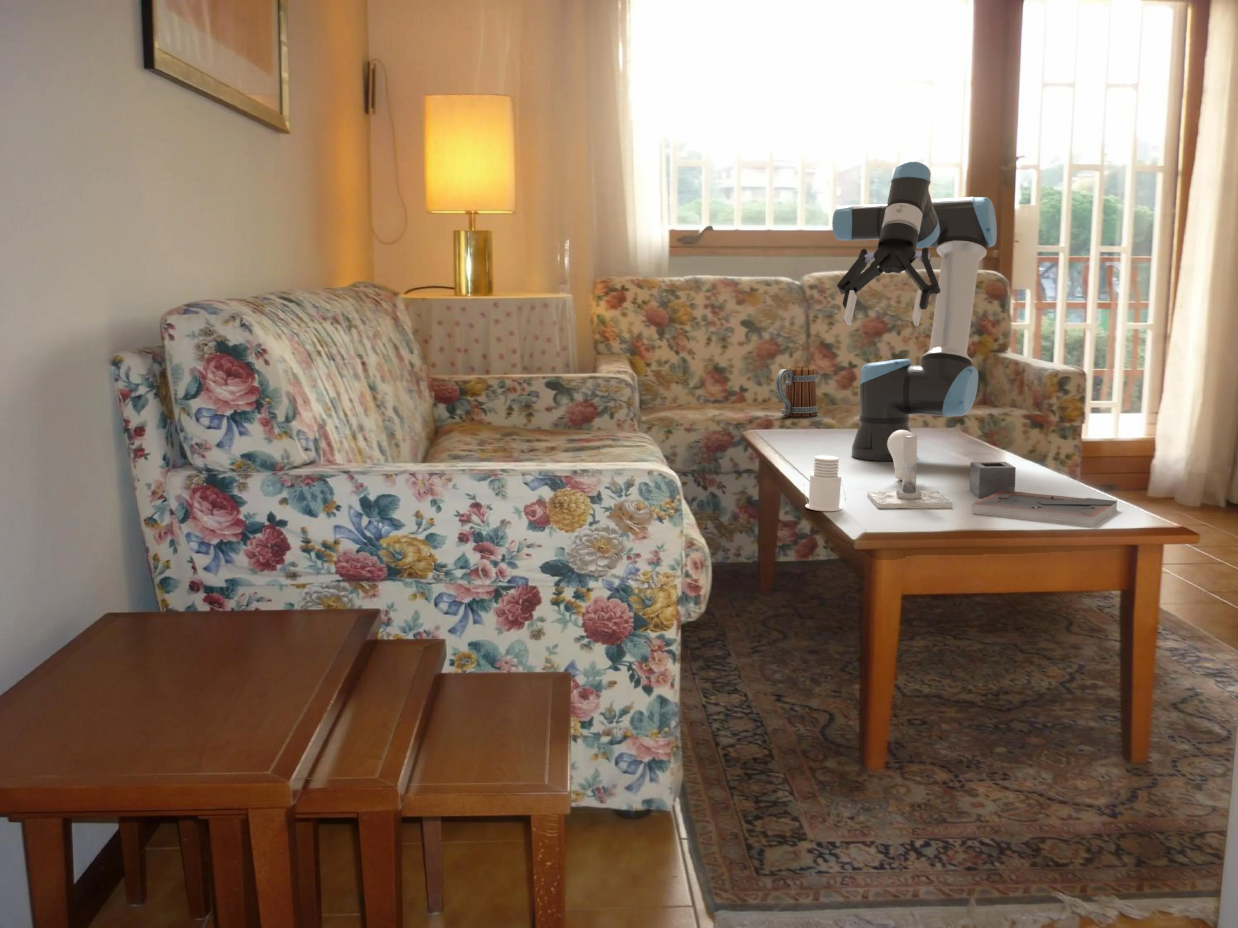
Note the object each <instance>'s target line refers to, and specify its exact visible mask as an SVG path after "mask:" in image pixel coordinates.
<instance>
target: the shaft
mask: <svg viewBox="0 0 1238 928" xmlns="http://www.w3.org/2000/svg"><path fill="white" fill-rule="evenodd" d="M913 435H914V434H913ZM913 435H906V436H903V474H902V481H901V483H902V484H901V485H902V486H901V489H899V490H895V491H894V490H893V491H891V490H890V491H886V490H885V491H883V490H882V491H881V490H880V491H878V490H877V491H876V490H875V491H867V492H866V493H867V498H868V499H869V500H870V501H871V503H872V504H875V505H874V506H875V507H876V508H877V509H878V508H906V509H953V502H952V501H951V500H949V499H948V498H947V497H946V496H945V495H944V494H942V493H941V492H940V491H939V490H917V465H918V463H917V462H918V461H917V458H918V457H917V456H918V454H917V453H918V436H917V435H914V436H913Z"/></svg>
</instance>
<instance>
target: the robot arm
mask: <svg viewBox="0 0 1238 928" xmlns="http://www.w3.org/2000/svg"><path fill="white" fill-rule="evenodd" d="M931 174H932V172H931V170H930V169H929V167H928V166H927V165H926V164H924V163H922V162H919V161H916V160H913V161H904V162H902V163H901V162H900V164H898V165H897V166H896V167H895V169H894V172H893V175H892V178H891V180H890V183H891V184H890V188H889V192H888V198H887V202H886V203H885V204H884V203H882V204H857V205H853V204H848V205H842V206H838V207H836V208H835V210H834V212H833V214H832V232H833V235H834V238H835V239H836V240H837V241H844V242H845V241H848V242H852V241H853V242H855V241H878V244H877V247H876V249H875V251H874V252H873V251H868V250H867V249H866V248H862V249H861V250H860V251H859V255H858V258H857V259H856V260H855V262H853V263H852V266H851V267H850V268H849V269H848V271H847V272H846V273H845V275H843V277H842V278H841V279H840V281H838V282H837V286H836V287H837V289H838V291H839V293H840V294H841V295H844V296H843V299H842V305H843V308H844V310H845V311H844V316H843V320H844V322H845V324H846V326H851V325H852V323H853V316H854V312H855V307H856V303H857V298H858V296H857V295H856V294H857V293H859V291H860V290H862V289H863V288H864V287H865V286H867V285H868V284H869V283H870V282H871V281H872V280H873V279H875V278H876V277H879V276H880V275H882V274H883V273H885V274H891V273H895V274H901V273H903V272H904V271H905V274H907V276H909V277H910V279H911V280H912V281H913V282H914V284H915V285H916V286H917V287H918V289H917V291H916V296H915V301H914V305H913V311H912V316H911V320H912V322H913V325H914V327H919V325H920V322H921V316H922V311H923V310H927V308H928V306H929V301H930V297H931V296H932V295H933V294H936V299H935V305H934V314H933V319H932V320H933V321H932V328H931V336H930V344H929V350H928V351H927V352H925V354H922V356H921V360H920V364H918V365H916V364H913V365H912V362H911V359H910V358H901V359H899V358H898V359H891V360H890V359H889V360H885V361H884V360H882V361H876V362H869V363H866V364H864V365H863V366H862V368H861V370H860V382H859V425H858V427H857V432H856V434H855V437H854V440H853V442H852V445H851V457H853V458H856V459H859V460H866V461H878V462H879V461H880V462H882V461H883V462H892V461H893V458H892V456H891V454H890V452H889V450H888V446H887V442H888V439H889V437H890V435H891V434H892V433H894V432H895V431H898V430H906V431H909V432H911V433H912V431H911V428H910V427H911V426H910V415H913V416H915V415H917V416H918V415H919V416H935V417H937V416H939V417H946V418H948V417H963V416H965V415H967V414H968V413H969V412H970V410H972V407H973V406H974V403H975V400H976V396H977V392H978V387H979V386H978V385H979V384H978V381H979V371H978V369H977V368H976V367H974V366H973V360H972V358H970V356H969V355H968V347H969V341H970V339H969V338H970V331H971V326H972V325H971V323H972V317H973V308H974V302H975V301H974V300H975V294H976V287H977V280H978V272H979V271H978V270H979V265H980V261H981V260H982V259H983V258H985V257H986V256H987V253H988V252H987V251H988V248H992V247H994V246H995V245H996V244H997V243H996V242H997V241H998V240H997V238H998V237H997V235H998V230H997V229H998V228H997V227H998V226H997V218H996V211H995V207H994V204H993V202H992V200H991V199H989V198H988V197H986V196H981V197H980V196H977V197H976V196H975V197H974V196H970V197H953V198H952V197H949V198H947V197H946V198H932V197H931V194H930V190H929V188H930V185H931V177H932V175H931ZM929 248H936V253H937V254H938V255H939V256H940V258H941V262H940V263H941V264H940V271H939V277H938V279H937V277H936V274H935V272H934V269H933V266H932V263H931V253H930V250H929ZM917 249H921V250H917ZM916 250H917V251H916ZM916 259H918V260H919V262H920V263H922V264H923V266H924V269H925V271H926V275H927V276H928V279H929V282H930V284H929V285H928V283H927V282H926V281H925V280H924V279H923V277H922V276H921V275H920V274H919V273H918V272H917V270H916V269H915V268H914V267H913V265H912V263H914V262H915V261H916ZM872 260H873V261H872ZM871 261H872V262H871ZM868 264H869V266H868V267H867V265H868ZM866 267H867V268H866Z"/></svg>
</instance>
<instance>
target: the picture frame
mask: <svg viewBox="0 0 1238 928" xmlns="http://www.w3.org/2000/svg"><path fill="white" fill-rule="evenodd" d="M1117 507H1118V500H1113V499H1112V500H1111V499H1102V498H1093V497H1083V498H1082V497H1076V496H1075V497H1074V496H1066V495H1065V496H1063V495H1054V494H1045V493H1033V492H1024V491H1016V490H1015V491H1006V490H1001V491H999V492H996V493H994V494H992V495H990V496H988V497H986V498H981V499H979V500H978V501H976V502H973V503H971V512H970V513H971V514H975V513H976V514H977V515H985V516H993V517H995V516H996V517H1004V518H1012V519H1013V518H1014V519H1021V520H1028V521H1029V520H1031V521H1039V522H1048V523H1057V524H1065V525H1066V524H1067V525H1075V526H1083V527H1094V526H1096V525H1097V524H1099V523H1100V522H1102V521H1103V520H1104V519H1106V518H1108V517H1109V516H1110V515H1112V514H1113V513H1115V512H1116V511H1117Z"/></svg>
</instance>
